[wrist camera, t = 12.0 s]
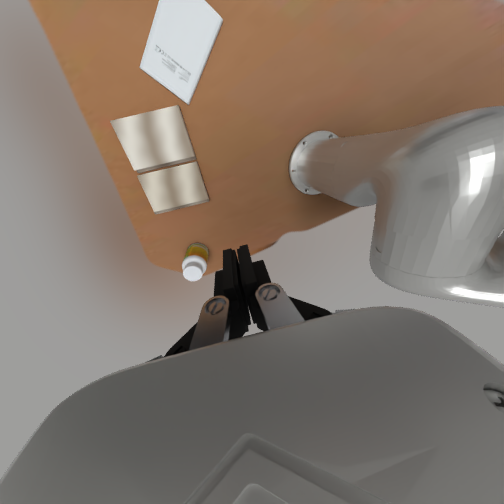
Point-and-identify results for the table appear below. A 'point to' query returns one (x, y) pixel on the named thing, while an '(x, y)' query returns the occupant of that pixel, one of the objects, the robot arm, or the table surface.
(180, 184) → the plank
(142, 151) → the laid board
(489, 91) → the table surface
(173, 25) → the external hard drive
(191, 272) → the supplement bottle
